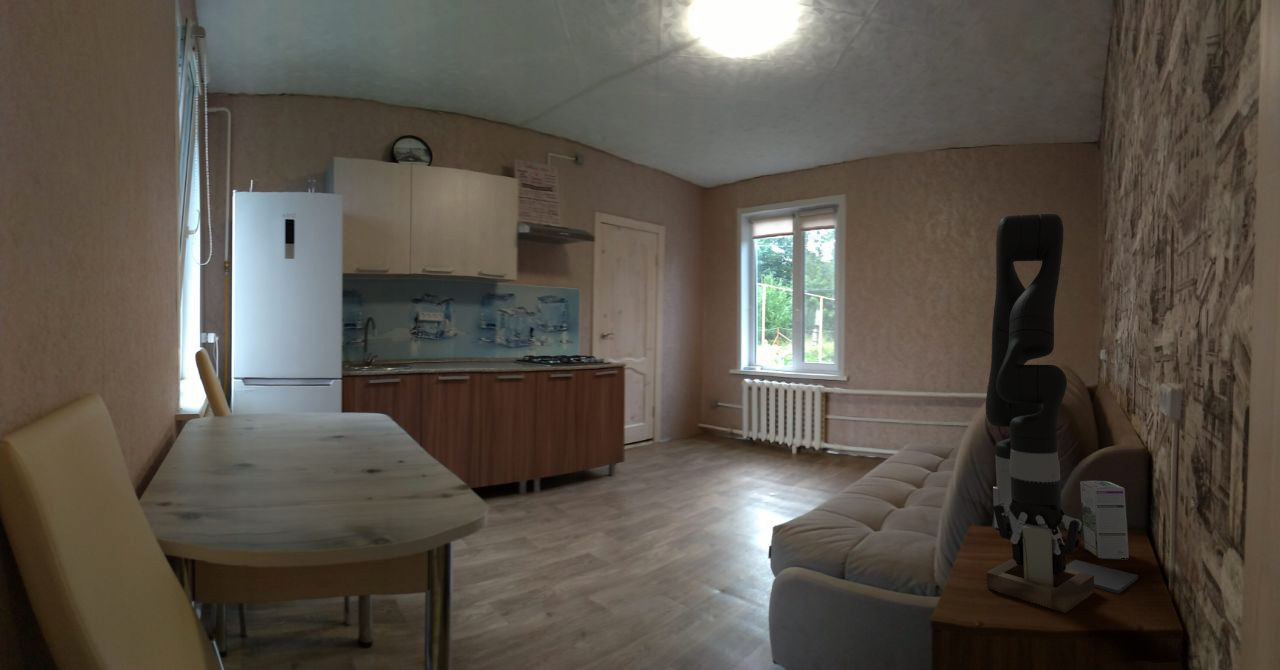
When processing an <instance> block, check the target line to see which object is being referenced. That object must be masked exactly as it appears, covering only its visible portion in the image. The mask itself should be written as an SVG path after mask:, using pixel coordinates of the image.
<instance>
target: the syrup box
mask: <svg viewBox="0 0 1280 670" xmlns="http://www.w3.org/2000/svg"><path fill="white" fill-rule="evenodd" d="M1079 485H1080V501H1081V502H1080V505H1081V519H1082V520H1083V522H1084V523H1083V528H1082V539H1083V549H1084V550H1085V551H1087V552H1089V553H1090V554H1092V555H1093V556H1095V557H1096V558H1098V559H1103V560H1104V559H1105V560H1122V559H1121V558H1125V559H1124V560H1127V559H1126V558H1129V559H1130V557H1129V555H1130V554H1129V540H1128V539H1129V537H1128V520H1127V507H1126V506H1127V505H1126V504H1127V503H1126V488H1125V487H1123V486H1120V485H1119V484H1115V483H1113V482H1111V481H1109V480H1083V481H1082V480H1080V482H1079Z"/></svg>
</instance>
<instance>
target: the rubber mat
mask: <svg viewBox="0 0 1280 670" xmlns="http://www.w3.org/2000/svg"><path fill="white" fill-rule="evenodd" d="M1066 568H1068V569H1071V570H1075V571H1079V572H1083V573H1087V574H1091V575H1094V588H1097V589H1099V590H1102V591H1103V590H1104V591H1106V592H1111V593H1114V594H1118V595H1119V594H1121V593H1122V592H1123V591H1124V590H1126V589H1127V588H1128V587H1129V586H1131V585H1132V584H1133V583H1135V582H1136V581H1138V580H1139V575H1138V574H1135V573H1129V572H1127V571H1122V570H1119V569H1114V568H1110V567H1106V566H1101V565H1098V564H1094V563H1091V562H1086V561H1082V560H1078V559H1074V560H1073V561H1070V562H1069V563H1066Z"/></svg>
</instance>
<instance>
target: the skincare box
mask: <svg viewBox="0 0 1280 670" xmlns="http://www.w3.org/2000/svg"><path fill="white" fill-rule="evenodd" d="M1053 553H1054V552H1053V550H1052V529H1045V528H1041V527H1040V526H1037V525H1032V524H1027V523H1026V524H1023V554H1024V579H1027V580H1031V581H1034V582H1037V583H1041V584H1044V585H1048V586H1051V587H1054V586H1055V585H1053V562H1052V554H1053Z"/></svg>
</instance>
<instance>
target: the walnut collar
mask: <svg viewBox="0 0 1280 670" xmlns="http://www.w3.org/2000/svg"><path fill="white" fill-rule="evenodd" d="M985 574H986V575H985V576H986V589H987V588H988V589H987V590H990V589H991V591H993V590H994V592H996V591H997V593H999V594H1002V595H1007V596H1009V597H1014V598H1016V599H1019V600H1022V601H1025V600H1026V602H1028V601H1030V602H1029V603H1032V602H1033V603H1032V604H1035V603H1037V604H1036V605H1038V604H1040V605H1039V606H1041V605H1042V606H1041V607H1044V606H1045V607H1044V608H1047V607H1048V609H1051V610H1054V611H1057V612H1060V613H1064V614H1066V613H1068V612H1069V611H1070V610H1072V609H1073V608H1075V607H1076V606H1078V605H1079V604H1080V603H1082V602H1083V601H1085V600H1086V599H1087V598H1088V597H1090V596H1091V595H1093V594H1095V587H1094V575H1091V574H1087V573H1083V572H1079V571H1075V570H1071V569H1068V568H1066V569H1065V571H1064V572H1062V573H1061V574H1060V575H1055V574H1053V585H1054V586H1056V587H1051V586H1048V585H1044V584H1041V583H1037V582H1034V581H1031V580H1027V579H1024V578H1023V577H1024V564H1023V565H1018V564H1016V561H1015V560H1014V559H1013V557H1012V558H1010V559H1008V560H1006V561H1005V562H1003V563H1001V564H999V565H997V566H995V567H993V568H991V569H990V570H988V571H986V573H985Z"/></svg>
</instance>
